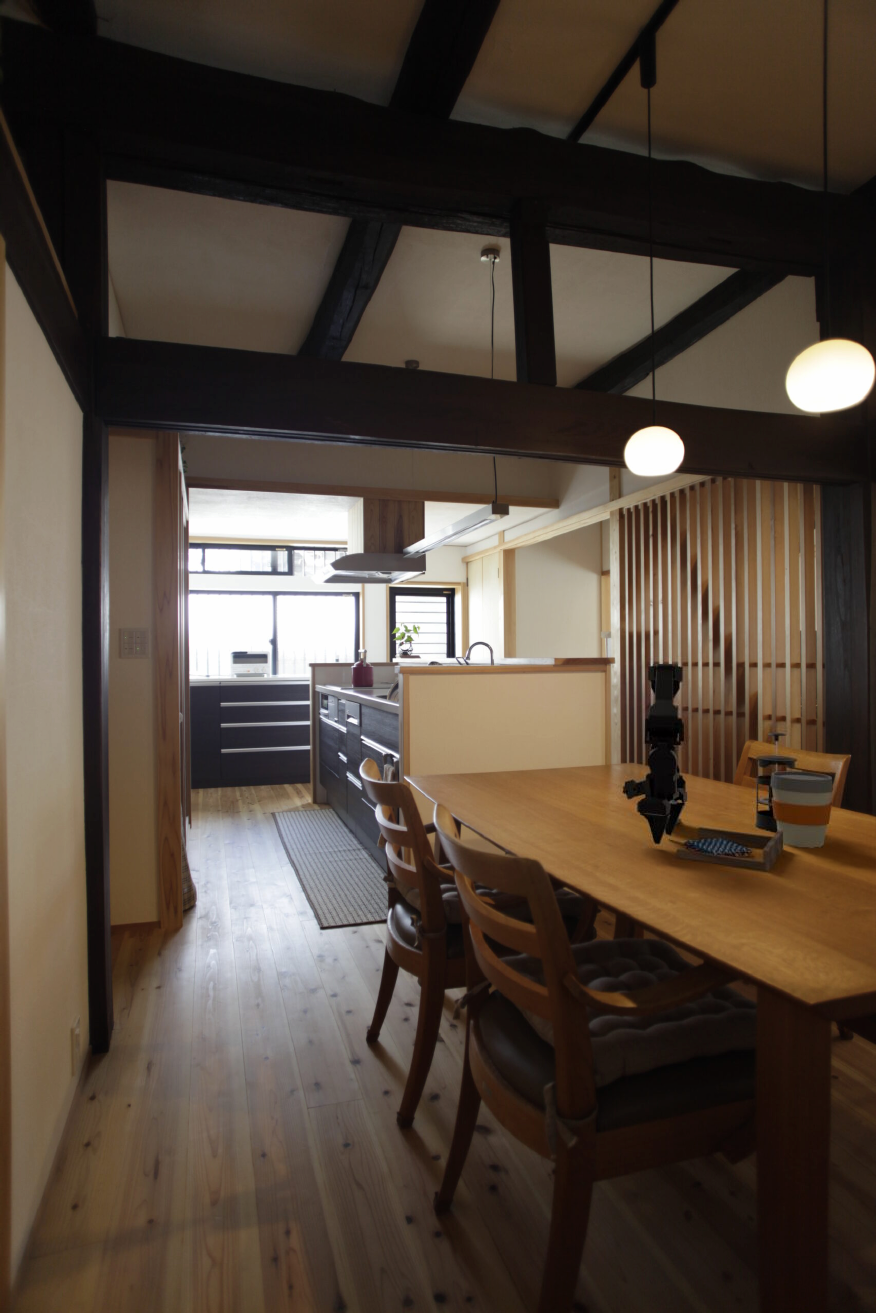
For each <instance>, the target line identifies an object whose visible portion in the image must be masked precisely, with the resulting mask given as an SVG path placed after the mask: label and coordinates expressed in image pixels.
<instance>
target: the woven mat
mask: <svg viewBox="0 0 876 1313" xmlns="http://www.w3.org/2000/svg"><path fill="white" fill-rule="evenodd" d="M683 846H684V848H685V849H687V848H688V849H687V850H689V851H695V852H702V853H709V854H716V855H723V856H730V857H737V858H743V857H752V855H751V854H753V852H752V850H751V849H750V848H748V847H744V845H739V844H734V843H733V842H729V841H728V840H724V838H722V839H718V838H717V839H708V840H707V839H705V840H702V839H695V840H694V839H693V840H690V839H689V840H686V841H685V842H683ZM742 855H743V856H742ZM748 855H749V856H748Z"/></svg>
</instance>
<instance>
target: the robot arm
mask: <svg viewBox="0 0 876 1313" xmlns="http://www.w3.org/2000/svg"><path fill="white" fill-rule="evenodd" d="M683 675H684V667H683V666H679V665H678V663H653V664H652V665H650V666H647V682H648V683H650V688H651V690H652V692H653V694H654V703H653V704H651V705H650V707H649V708H648V716H645V718H644V720H645V721H644V745H650V747H649V755H648V758H647V766H648V768H649V772H648V773H647V774H646V775H645V778H644V779H640V780H637V781H636V780H634V779H630V780H626V781H624V785H623V786H622V788H623V789H622V794H623V795H625V796H626V798H627V800H632V799H633V798H637V797H640V796H644V797H643V798H641V799H640V800H638V802H637V803H636V813H638V814H639V815H640V816H643V818H645V819H646V820H647V823H648V825H649V828H650V832H651V835H652V840H653V843H654V844H655V845H660V844H661V842H662V839H663V836H664V833H665V835H666V836H671V835H672V834H673V831H674V829H675V827H676V825H678V824H679V823H681V821H682V818H680V816H681V814H682V813H683V812H682V811H683V810H684V807H686V803H687V802H688V792H687V791H686V789H687V788H686V784H687V783H686V780H685V779H684V777H683V774H680V771H681V770H680V767H679V765H678V763H677V761H678V759H677V758H678V757H677V754H678V752H677V750H678V749H677V748H676V746H682V742H685V722H684V721H683V719H682V717H679V708H678V707H677V706H676V705H675V704H674V702H675V701H674V700H675V698H676V697H677V694H678V693H679V691H680V689H681V687H680V686H681V683H683V682H684V676H683ZM680 801H681V802H680Z"/></svg>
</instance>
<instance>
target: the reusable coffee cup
mask: <svg viewBox="0 0 876 1313" xmlns="http://www.w3.org/2000/svg"><path fill="white" fill-rule="evenodd" d="M771 775H772V776H771V785H770V786H771V787H772V791H773V798H772V806H773V813H774V818H775V819H776V821H777V829H778V830H781V831H783V843H784V844H783V845H786V844H787V846H790V845H791V847H795V846H797V847H796V848H802V847H809V848H808V849H815V848H814V847H819V848H822V847H821V846H823V845H825V838H826V837H825V836H826V831H827V825H829V824H830V821H831V820H830V818H831V812H832V802H831V797H832V792H834V786H833V778H832V776H830V775H827V774H823V773H818V772H807V771H795V770H793V771H792V770H790V771H789V770H788V771H787V770H785V771H777V772H776V771H774V772H772V773H771ZM823 847H824V846H823Z"/></svg>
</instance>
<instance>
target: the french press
mask: <svg viewBox="0 0 876 1313" xmlns="http://www.w3.org/2000/svg"><path fill="white" fill-rule="evenodd" d="M766 735H768V736H774V738H773V739H774V741H775V755H769V754H768V755H758V756H756V759H757V760H758V767H760V768H762V769H764V768H768V767H769V766H771V765H773V766H775V772H778V766H787V767H789V769H792V770H794V769H796V762H797V761H798V759H797V758H795V757H790V756H784V755H778V742H780V740H779V739H780V737H784V736H787V734H786V733H783V732H768V733H767V734H766ZM771 776H772V774H769V775H767V774H764V775H757V776H756V780H755V781H756V784H755V785H756V787H755V788H756V790H755V791H756V794H755V795H756V801H755V802H756V806H755V808H756V809H755V810H756V811H755V812H756V814H755V816H756V818H755V819H756V822H754V823H755V824H754V825H755V827H756V828H757V827H758V829H760V828H761V829H760V830H763V829H766V830H765V831H768V830H772V831H771V832H775V831H778V829H777V821H776V819H775V818H774V813H773V806H772V798H773V791H772V787H771V786H770V785H771ZM759 785H763V786H768V797H761V798H759ZM759 804H760V805H764V806H768V809H761V810H759Z"/></svg>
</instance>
